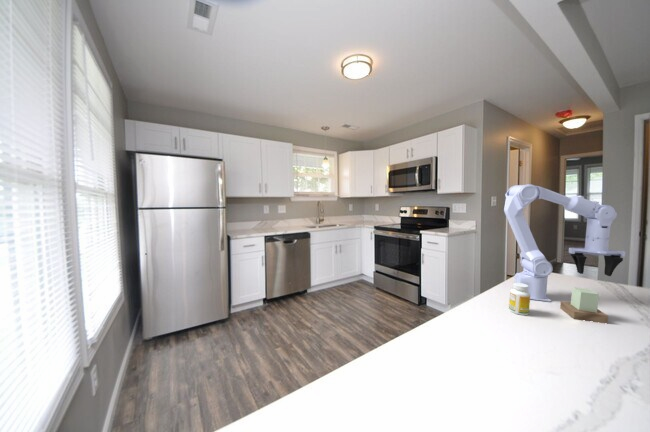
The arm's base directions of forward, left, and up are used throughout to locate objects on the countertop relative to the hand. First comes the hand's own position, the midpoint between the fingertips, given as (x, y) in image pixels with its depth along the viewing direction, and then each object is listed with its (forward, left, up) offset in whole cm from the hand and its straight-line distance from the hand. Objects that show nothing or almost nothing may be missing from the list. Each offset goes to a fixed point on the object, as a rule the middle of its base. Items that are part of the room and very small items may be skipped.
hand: (593, 274), depth 90 cm
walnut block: (-10, -15, -11) cm, 21 cm away
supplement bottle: (-28, -19, -11) cm, 35 cm away
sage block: (-10, -15, -8) cm, 19 cm away
